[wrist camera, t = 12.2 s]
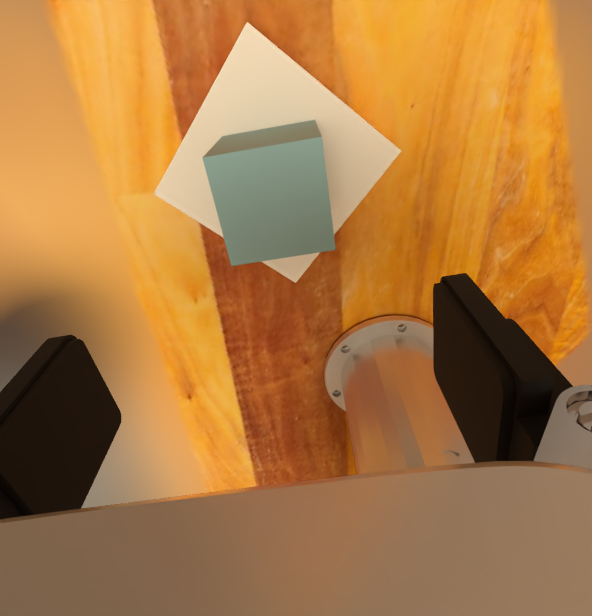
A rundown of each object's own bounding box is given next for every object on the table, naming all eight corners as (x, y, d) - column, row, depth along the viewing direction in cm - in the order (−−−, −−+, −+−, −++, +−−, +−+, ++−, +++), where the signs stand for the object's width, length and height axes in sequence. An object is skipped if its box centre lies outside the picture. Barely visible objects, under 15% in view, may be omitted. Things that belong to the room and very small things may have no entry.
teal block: (314, 119, 26) (321, 136, 20) (326, 211, 29) (335, 249, 23) (222, 136, 26) (202, 157, 20) (243, 224, 30) (231, 265, 24)
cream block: (388, 140, 31) (401, 150, 27) (294, 261, 36) (295, 282, 32) (252, 26, 27) (247, 21, 23) (168, 179, 32) (153, 194, 28)
